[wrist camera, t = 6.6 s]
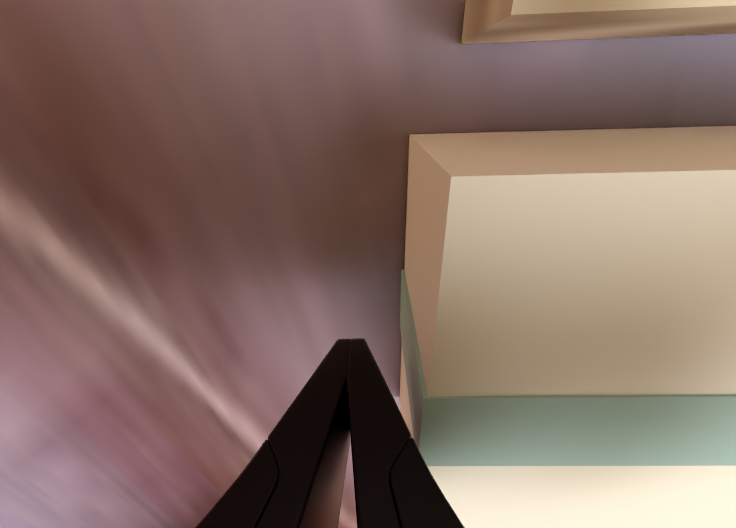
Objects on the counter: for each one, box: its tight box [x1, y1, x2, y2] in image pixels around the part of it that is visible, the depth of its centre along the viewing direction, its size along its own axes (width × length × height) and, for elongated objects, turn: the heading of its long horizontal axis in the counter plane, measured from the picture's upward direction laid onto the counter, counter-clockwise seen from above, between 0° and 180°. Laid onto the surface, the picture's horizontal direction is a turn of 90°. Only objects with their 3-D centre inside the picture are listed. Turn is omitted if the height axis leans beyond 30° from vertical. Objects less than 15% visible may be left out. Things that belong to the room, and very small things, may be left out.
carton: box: [400, 126, 736, 528], centre depth 9 cm, size 11×11×5 cm
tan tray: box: [461, 0, 736, 44], centre depth 9 cm, size 15×17×3 cm
